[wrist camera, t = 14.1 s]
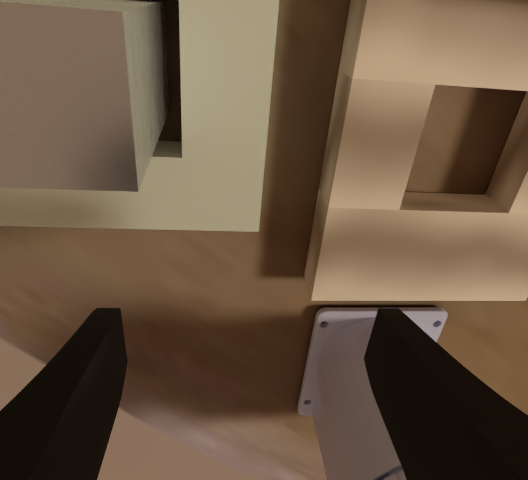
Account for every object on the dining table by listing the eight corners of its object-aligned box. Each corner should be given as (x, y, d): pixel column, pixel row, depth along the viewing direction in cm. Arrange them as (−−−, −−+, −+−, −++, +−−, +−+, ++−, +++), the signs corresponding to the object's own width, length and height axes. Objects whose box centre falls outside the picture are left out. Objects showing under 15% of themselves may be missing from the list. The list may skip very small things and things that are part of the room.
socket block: (503, 278, 24) (525, 300, 22) (303, 277, 22) (311, 300, 21) (665, -56, 16) (720, -61, 14) (366, -95, 14) (386, -106, 12)
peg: (169, 110, 17) (138, 191, 10) (69, 105, 17) (-33, 186, 10) (164, 0, 15) (122, 11, 8) (49, -10, 15) (-95, -7, 8)
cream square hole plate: (255, 211, 20) (258, 231, 18) (-9, 203, 18) (-32, 225, 17) (280, -106, 14) (289, -119, 12) (-116, -158, 12) (-169, -180, 10)
